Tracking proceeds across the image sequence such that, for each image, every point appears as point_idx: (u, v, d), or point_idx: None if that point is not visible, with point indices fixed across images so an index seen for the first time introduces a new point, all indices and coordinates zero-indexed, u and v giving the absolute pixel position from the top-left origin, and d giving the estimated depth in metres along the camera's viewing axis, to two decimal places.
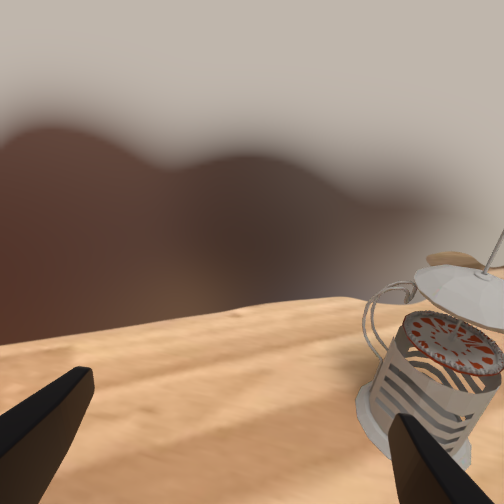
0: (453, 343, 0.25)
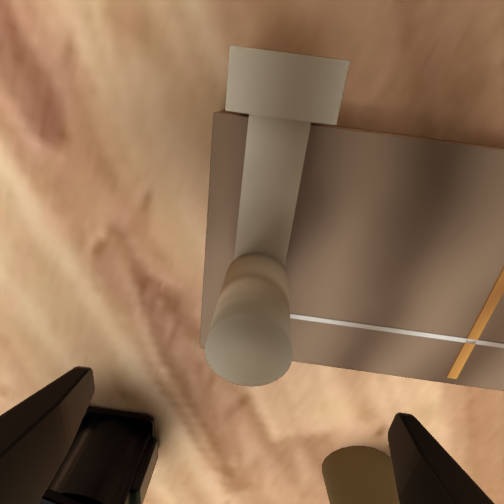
0: None
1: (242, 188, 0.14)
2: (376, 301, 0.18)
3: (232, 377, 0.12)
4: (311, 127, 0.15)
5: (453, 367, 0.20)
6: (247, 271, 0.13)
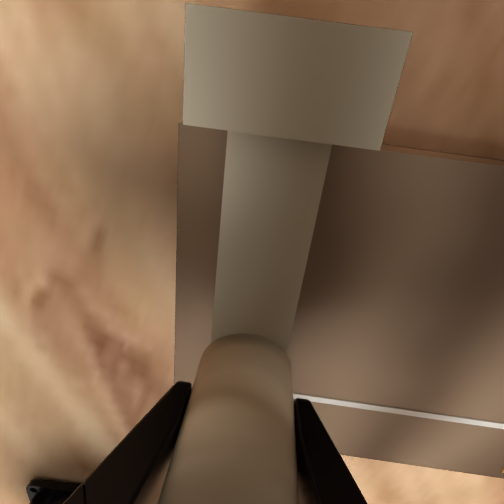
0: None
1: (220, 244, 0.09)
2: (413, 381, 0.13)
3: None
4: None
5: None
6: (227, 381, 0.08)
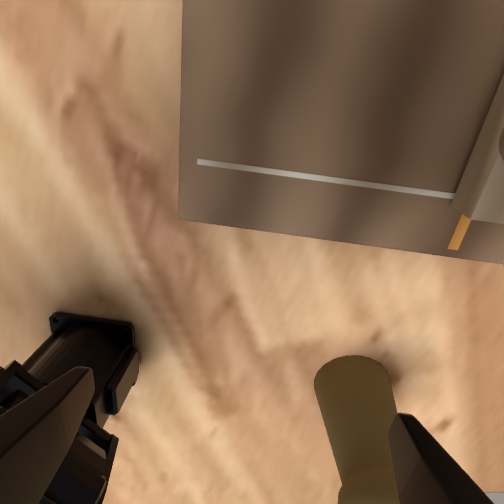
0: None
1: None
2: (370, 149, 0.17)
3: None
4: None
5: (454, 234, 0.18)
6: None
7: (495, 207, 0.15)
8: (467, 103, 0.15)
